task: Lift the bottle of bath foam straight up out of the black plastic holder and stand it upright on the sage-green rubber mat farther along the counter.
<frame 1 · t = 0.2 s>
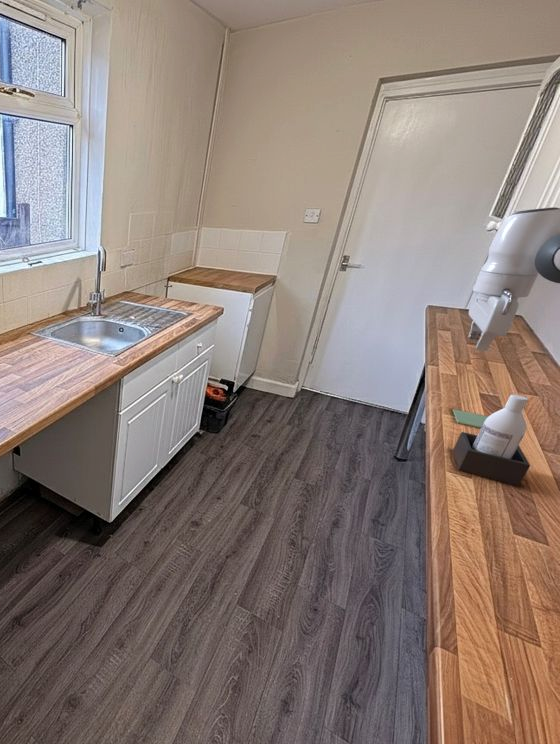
hand: (476, 344, 97), 31 cm above the worktop, tool pointing down, fingers open, 8 cm apart
mat: (476, 421, 126), on the worktop
bath foam: (483, 467, 104), resting in holder
holder: (483, 467, 104), on the worktop
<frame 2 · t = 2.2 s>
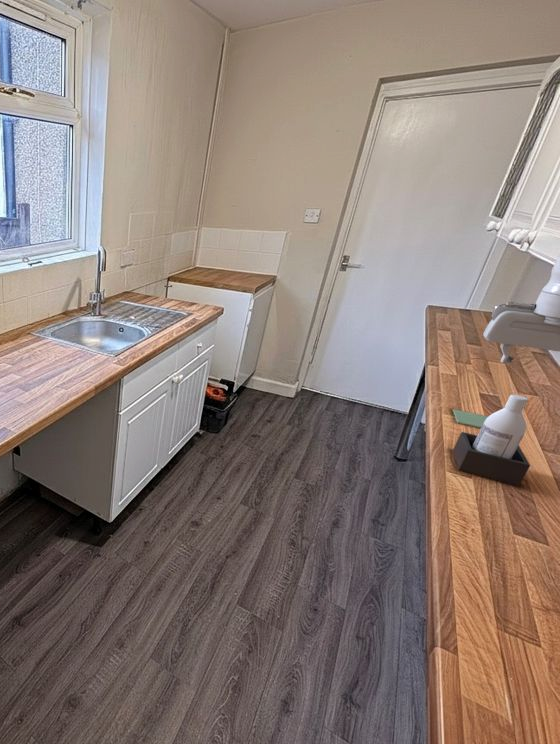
hand: (534, 367, 93), 28 cm above the worktop, tool pointing down, fingers open, 8 cm apart
nothing on the worktop moved.
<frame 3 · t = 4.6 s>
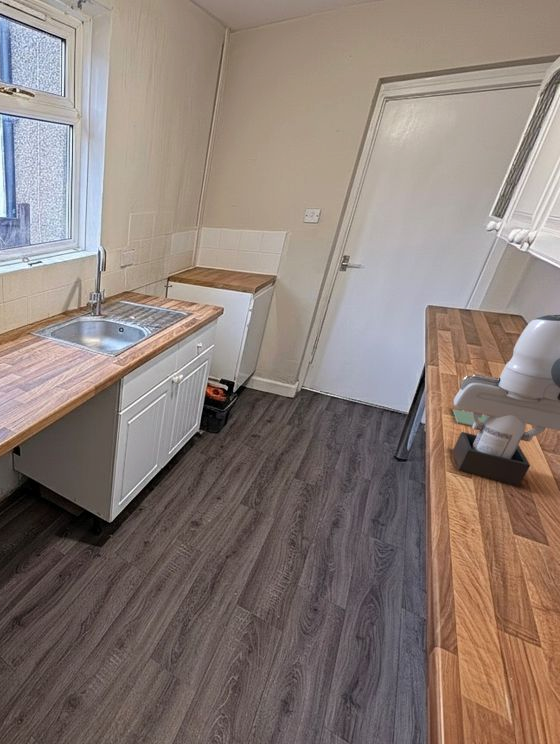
hand: (500, 434, 100), 10 cm above the worktop, tool pointing down, fingers closed on bath foam, 7 cm apart
bath foam: (483, 467, 104), resting in holder, touching gripper
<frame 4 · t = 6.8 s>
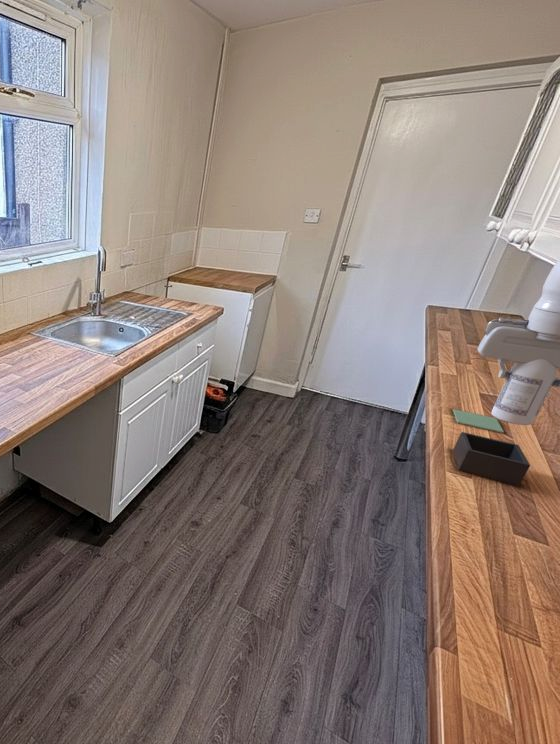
hand: (528, 381, 94), 24 cm above the worktop, tool pointing down, fingers closed on bath foam, 7 cm apart
bath foam: (510, 419, 98), point 14 cm above the worktop, touching gripper
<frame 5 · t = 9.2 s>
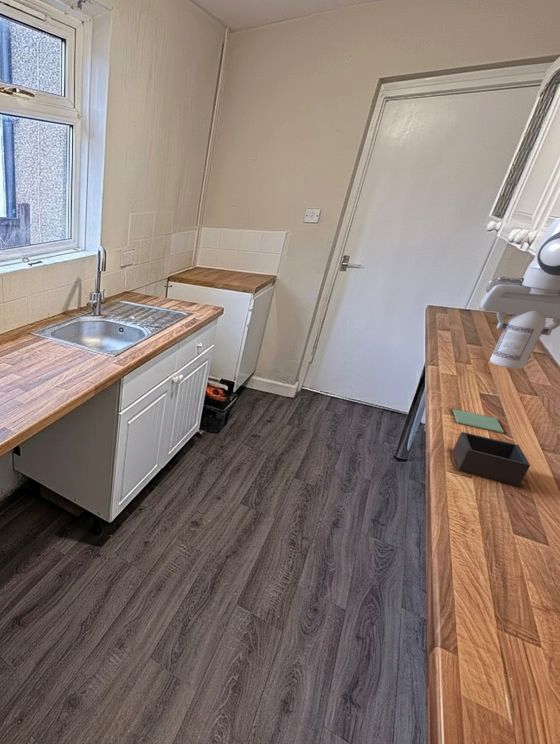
hand: (522, 331, 111), 29 cm above the worktop, tool pointing down, fingers closed on bath foam, 7 cm apart
bath foam: (505, 365, 115), point 20 cm above the worktop, touching gripper
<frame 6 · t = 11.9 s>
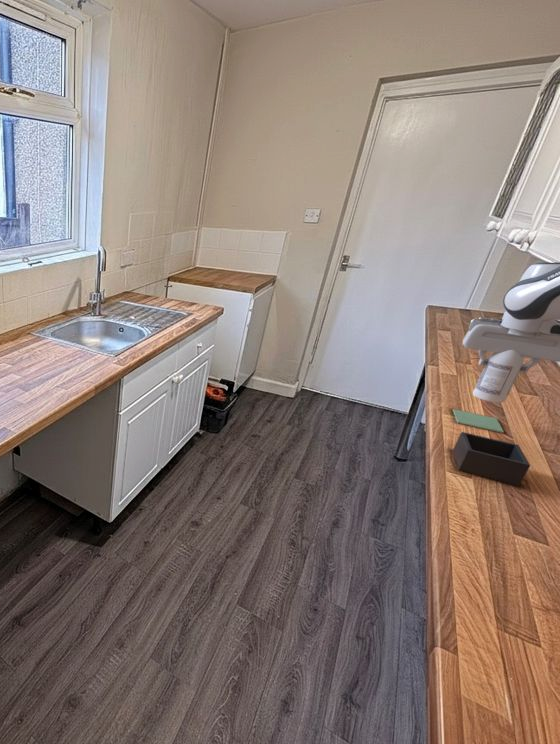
hand: (502, 368, 118), 18 cm above the worktop, tool pointing down, fingers closed on bath foam, 7 cm apart
bath foam: (487, 398, 122), point 8 cm above the worktop, touching gripper
when the fingers open (10 cm above the worktop, at t = 14.3 s): bath foam stays where it is, resting on mat.
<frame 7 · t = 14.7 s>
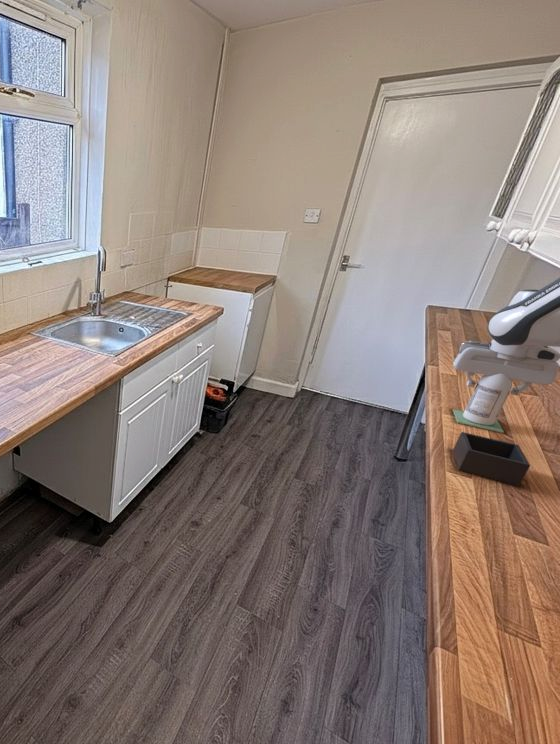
hand: (491, 390, 121), 10 cm above the worktop, tool pointing down, fingers open, 8 cm apart
bath foam: (477, 420, 125), resting on mat
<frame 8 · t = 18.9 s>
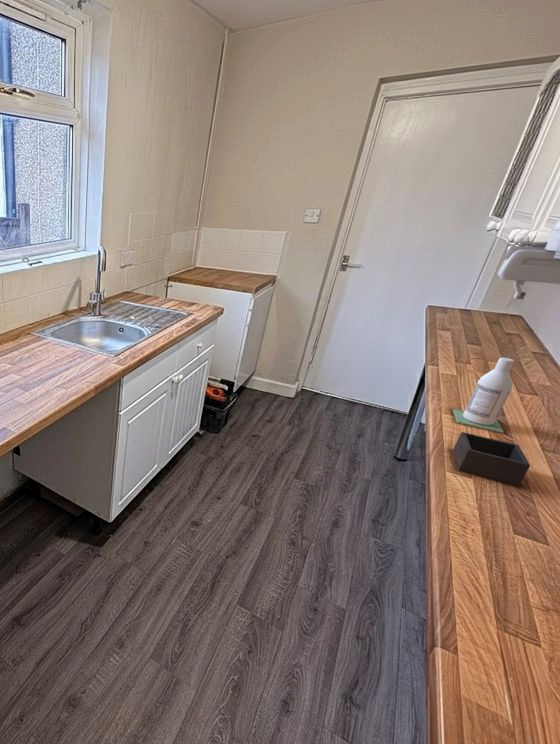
hand: (545, 301, 102), 39 cm above the worktop, tool pointing down, fingers open, 8 cm apart
nothing on the worktop moved.
at the end: bath foam inside the target area on the mat (0.2 cm from its centre), point 0.2 cm above the mat's base; bath foam tilted 0°; bath foam touching mat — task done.
